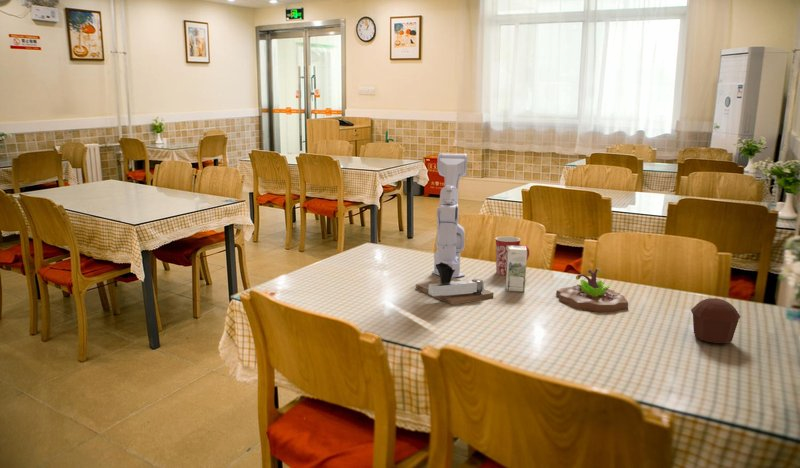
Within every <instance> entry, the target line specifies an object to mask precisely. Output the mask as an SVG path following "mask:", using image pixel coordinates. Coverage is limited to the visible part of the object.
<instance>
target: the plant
mask: <svg viewBox="0 0 800 468" xmlns="http://www.w3.org/2000/svg"><path fill="white" fill-rule="evenodd" d="M587 274H588V275H589V276H590V277H591V278H590V277H589V276H588V275H586V274H582V273H581V274H577V275H576V276H575V280H580V284H579V283H578V284H576V285H573V286H566V287H561V288H558V289H557V290H556V291H555V292H556V293H555V295H556V297H558V301H559V302H560V303H563V304H565V305H567V306H569V307H572V308H574V309H577V310H582V311H585V312H586V311H587V312H595V313H614V312H616V311H621V310H622V311H623V310H629V302H628V300H627V299H626V297H625V296H624V295H622V294H620V293H619V292H617V291H615V290H613V289H610V288H611V287H612V285H607V286H605V282H604V281H602V280H598V281H597V276H601V275H602V274H603V273H602V270H601V269H600V268H598V267H597V268H595V270H594V271H593V270H592V269H589V270H588V271H587ZM581 277H584V278H585V279H586V280H587V281H586V280H583V279H581Z"/></svg>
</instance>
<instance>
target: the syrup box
mask: <svg viewBox="0 0 800 468" xmlns="http://www.w3.org/2000/svg"><path fill="white" fill-rule="evenodd" d="M525 246H526V245H525ZM525 246H508V256H507V274H506V276H505V277H506V278H505V279H506V280H505V289H506V290H507V291H506V292H513V293H515V292H516V293H525V292H526V291H525V290H526V289H525V288H526V272H527V261H528V259H527V249H526V247H525Z"/></svg>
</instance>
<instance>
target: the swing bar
mask: <svg viewBox="0 0 800 468" xmlns="http://www.w3.org/2000/svg"><path fill="white" fill-rule="evenodd" d="M484 289H485V281H484V280H483V279H479V278H476V279H475V278H473V279H469V280H461V281H457V282H446V283H435V284H429V291H428V294H427V295H429V294H430V295H429V296H432V297H434V296H440V295H450V294H460V293H470V292H483V291H484Z"/></svg>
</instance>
